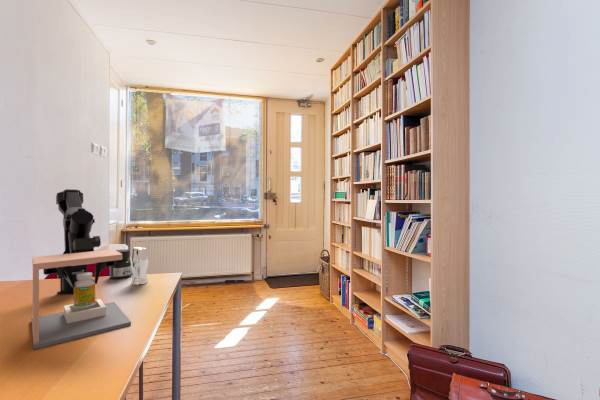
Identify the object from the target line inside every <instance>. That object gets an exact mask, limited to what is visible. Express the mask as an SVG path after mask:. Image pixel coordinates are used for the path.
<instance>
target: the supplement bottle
mask: <svg viewBox="0 0 600 400" xmlns="http://www.w3.org/2000/svg"><path fill="white" fill-rule="evenodd" d="M76 279H77V281H76V282H75V283H74V293H73V304H74V307H75V308H86V307H90V306H92V305H94V304H95V300H96V284H95V279H93V272H89V271H87V272H85V273H79V274H77V275H76Z"/></svg>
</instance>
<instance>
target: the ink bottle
mask: <svg viewBox="0 0 600 400" xmlns="http://www.w3.org/2000/svg"><path fill="white" fill-rule="evenodd" d="M115 250H116V251H118V252H119V253H121V254H122V260H117V262H116V265H115V266H111V267H109V278H110V279H114V280H118V279H119V280H121V279H125V278H129V277H128V276H130V277H132V276H133V275H132V269H131V263H130V253H131V249H126V248H125V249H115Z"/></svg>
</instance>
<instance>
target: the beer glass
mask: <svg viewBox="0 0 600 400" xmlns="http://www.w3.org/2000/svg"><path fill="white" fill-rule="evenodd" d="M149 253H150V252H149V247H148V246H136V247H131V248H130V256H129V257H130V258H129V259H130V263H131V269H132V276H131V277H132V278H131V285H132V284H133V285H132V286H140V285H139V284H142V285H146V284H147V283H148V281H149V280H148V277H147V272H148V267H149V259H150V258H149V257H150V255H149ZM145 283H146V284H145Z"/></svg>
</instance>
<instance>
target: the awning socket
mask: <svg viewBox="0 0 600 400" xmlns="http://www.w3.org/2000/svg"><path fill="white" fill-rule="evenodd" d="M116 250H117V249H114V248H112V249H103V250H102V249H101V250H94V251H91V252H80V253H70V254H63V253H61V254H51V255H40V256H32V258H31V259H32V262H31V263H32V317H31V329H32V345H33V350H34V349H35V350H38V349H42V348H45V347H50V346H53V345H57V344H62V343H66V342H70V341H74V340H78V339H81V338H82V339H83V338H85V337H90V336H93V335H97V334H102V333H104V332H109V331H113V330H117V329H121V328H124V327H130V326H132V321H131V320H130V319H129V317H127V315H126V314H125V313H124V311H123V310H122V309H121V308H120V307H119V306H118V305H117V304H116V302H115V301H111V302H106V303H104V302H103V301H102V299H100V298H99V299H98V298H97V299H95V304H94V305H92V306H90V307H86V308H75V307H74V303H72V304H71V303H70V304H66V305H63V311H61V312H55V313H50V314H46V315H41V316H40V270H43V269H47V268H56V267H64V266H73V265H81V264H87V265H91V264H90V263H93V264H96V263H98V262H106V261H115V260H122V254H121V253H119V252H118V251H116Z"/></svg>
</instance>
